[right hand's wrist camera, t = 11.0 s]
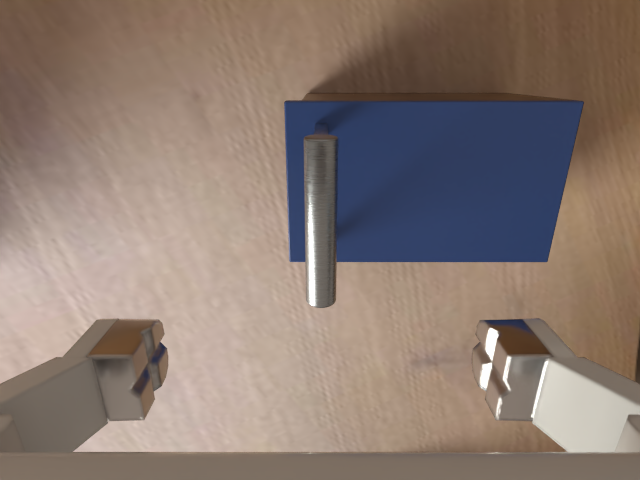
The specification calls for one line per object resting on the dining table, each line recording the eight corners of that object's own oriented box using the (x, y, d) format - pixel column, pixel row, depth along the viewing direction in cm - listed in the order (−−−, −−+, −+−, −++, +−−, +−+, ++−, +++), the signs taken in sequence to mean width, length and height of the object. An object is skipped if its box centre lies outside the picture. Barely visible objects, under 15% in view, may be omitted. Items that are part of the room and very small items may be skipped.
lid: (290, 257, 27) (278, 326, 20) (285, 100, 24) (268, 112, 16) (541, 257, 27) (625, 326, 20) (576, 100, 24) (695, 112, 16)
